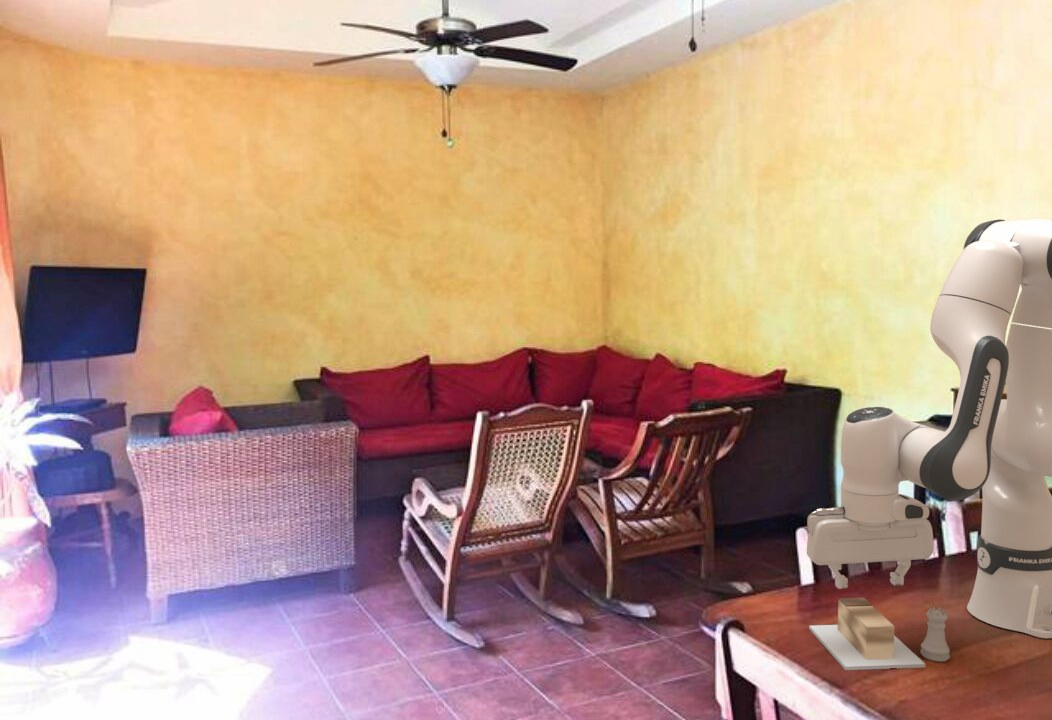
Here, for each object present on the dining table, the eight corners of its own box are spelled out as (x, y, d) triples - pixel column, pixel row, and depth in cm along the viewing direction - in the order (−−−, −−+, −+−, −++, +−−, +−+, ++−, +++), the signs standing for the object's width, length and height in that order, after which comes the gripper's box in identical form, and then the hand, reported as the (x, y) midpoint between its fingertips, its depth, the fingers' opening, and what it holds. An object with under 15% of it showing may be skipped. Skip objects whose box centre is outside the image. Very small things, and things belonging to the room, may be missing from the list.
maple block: (893, 658, 133) (894, 625, 133) (866, 659, 133) (867, 625, 132) (862, 628, 144) (863, 597, 143) (837, 629, 144) (838, 598, 143)
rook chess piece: (953, 664, 132) (956, 616, 131) (923, 661, 133) (926, 614, 132) (945, 651, 137) (947, 605, 136) (916, 649, 138) (918, 603, 137)
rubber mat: (880, 626, 146) (881, 623, 146) (925, 667, 131) (925, 663, 131) (809, 628, 146) (809, 625, 146) (845, 670, 131) (845, 666, 131)
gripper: (814, 514, 133) (815, 596, 134) (939, 507, 133) (938, 589, 135) (800, 503, 139) (801, 582, 140) (919, 496, 139) (918, 575, 141)
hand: (869, 585), depth 138 cm, fingers open, 8 cm apart
